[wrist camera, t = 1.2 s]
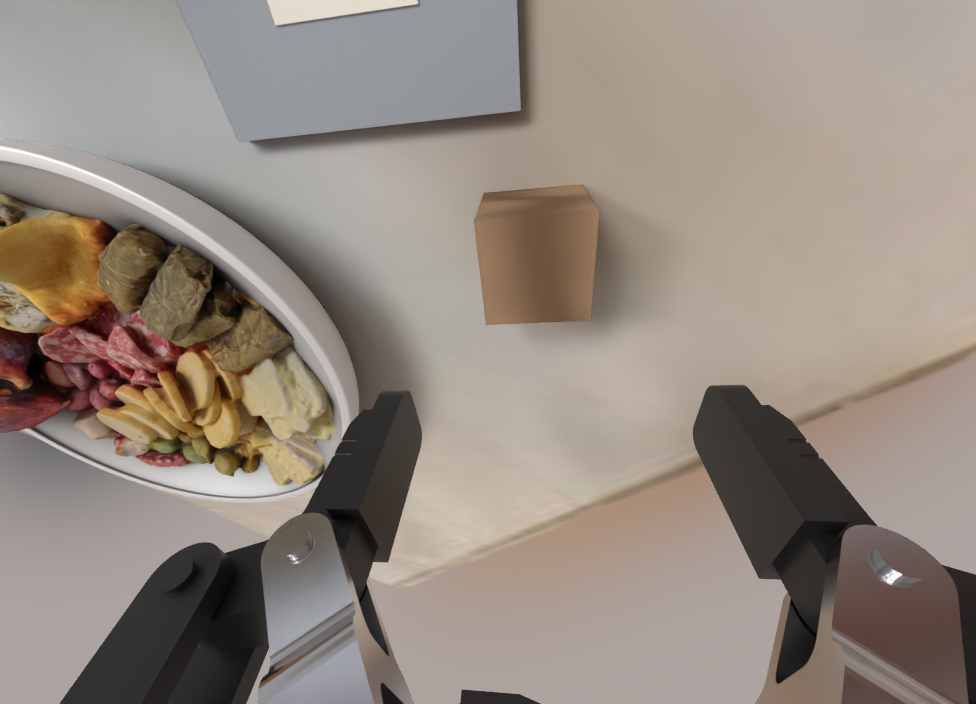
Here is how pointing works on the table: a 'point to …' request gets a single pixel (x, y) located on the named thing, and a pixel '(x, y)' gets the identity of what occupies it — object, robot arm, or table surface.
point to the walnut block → (537, 254)
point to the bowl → (160, 334)
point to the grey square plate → (355, 61)
